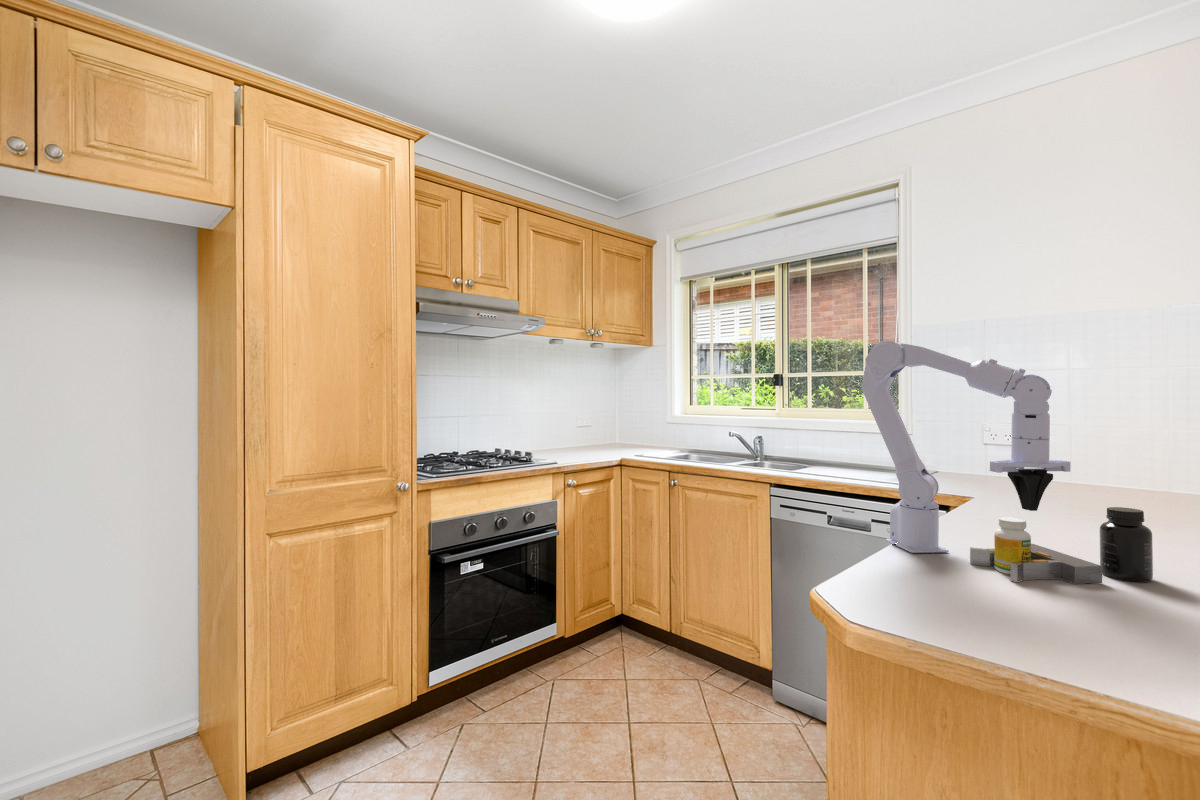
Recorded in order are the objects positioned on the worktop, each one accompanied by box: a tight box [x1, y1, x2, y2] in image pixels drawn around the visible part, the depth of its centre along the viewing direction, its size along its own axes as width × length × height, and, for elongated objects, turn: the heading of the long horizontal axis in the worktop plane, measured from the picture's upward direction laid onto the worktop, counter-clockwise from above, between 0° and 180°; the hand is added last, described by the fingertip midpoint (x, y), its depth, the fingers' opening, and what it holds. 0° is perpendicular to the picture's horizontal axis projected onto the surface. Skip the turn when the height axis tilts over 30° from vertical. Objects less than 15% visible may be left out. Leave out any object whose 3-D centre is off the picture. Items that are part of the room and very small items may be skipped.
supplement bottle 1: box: [993, 516, 1032, 576], centre depth 102 cm, size 5×5×10 cm
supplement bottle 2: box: [1099, 506, 1154, 583], centre depth 99 cm, size 7×7×12 cm
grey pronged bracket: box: [969, 543, 1103, 585], centre depth 102 cm, size 14×15×3 cm
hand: (1029, 509), depth 106 cm, fingers closed
